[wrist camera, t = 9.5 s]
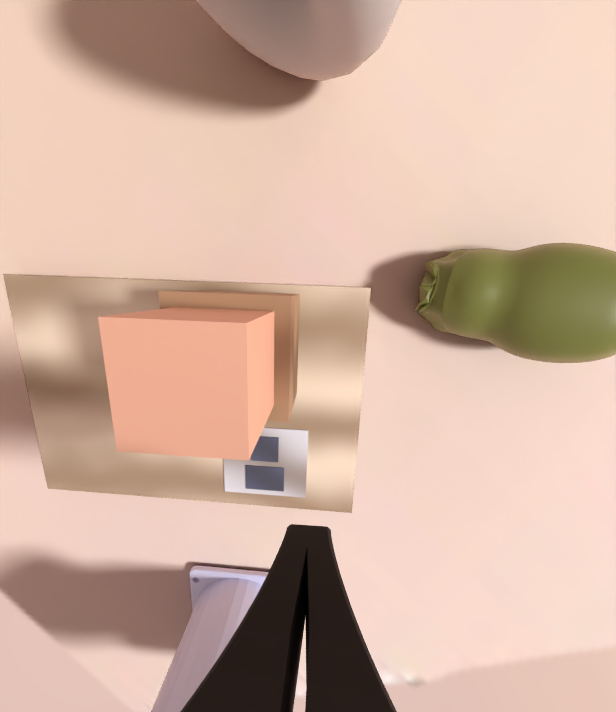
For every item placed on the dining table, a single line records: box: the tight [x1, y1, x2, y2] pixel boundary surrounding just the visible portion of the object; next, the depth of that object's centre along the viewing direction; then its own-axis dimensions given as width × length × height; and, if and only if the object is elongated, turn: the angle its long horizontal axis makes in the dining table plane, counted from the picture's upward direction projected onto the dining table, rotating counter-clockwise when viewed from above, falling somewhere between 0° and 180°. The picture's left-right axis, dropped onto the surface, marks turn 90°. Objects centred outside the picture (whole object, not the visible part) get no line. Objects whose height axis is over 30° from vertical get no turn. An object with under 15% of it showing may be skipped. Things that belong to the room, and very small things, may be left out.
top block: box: [98, 307, 274, 461], centre depth 11 cm, size 4×4×4 cm
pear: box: [414, 243, 616, 363], centre depth 14 cm, size 6×5×10 cm
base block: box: [158, 290, 300, 422], centre depth 15 cm, size 6×6×4 cm
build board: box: [3, 274, 371, 513], centre depth 19 cm, size 15×22×1 cm
